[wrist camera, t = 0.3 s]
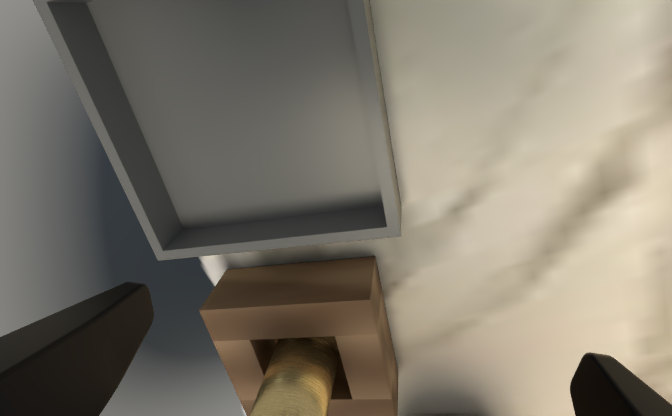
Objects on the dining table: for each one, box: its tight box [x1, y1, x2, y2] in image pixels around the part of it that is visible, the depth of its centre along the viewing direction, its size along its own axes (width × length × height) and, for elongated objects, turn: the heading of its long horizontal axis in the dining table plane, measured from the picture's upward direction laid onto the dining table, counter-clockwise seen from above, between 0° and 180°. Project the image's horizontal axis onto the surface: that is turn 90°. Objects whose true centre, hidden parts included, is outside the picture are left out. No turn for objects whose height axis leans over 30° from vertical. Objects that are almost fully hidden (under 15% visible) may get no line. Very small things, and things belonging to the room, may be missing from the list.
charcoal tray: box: [33, 0, 401, 260], centre depth 19 cm, size 14×14×3 cm
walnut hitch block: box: [199, 256, 398, 416], centre depth 25 cm, size 10×10×4 cm
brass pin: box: [249, 336, 339, 416], centre depth 22 cm, size 6×6×12 cm
